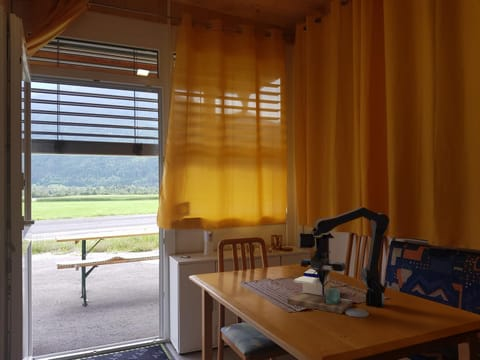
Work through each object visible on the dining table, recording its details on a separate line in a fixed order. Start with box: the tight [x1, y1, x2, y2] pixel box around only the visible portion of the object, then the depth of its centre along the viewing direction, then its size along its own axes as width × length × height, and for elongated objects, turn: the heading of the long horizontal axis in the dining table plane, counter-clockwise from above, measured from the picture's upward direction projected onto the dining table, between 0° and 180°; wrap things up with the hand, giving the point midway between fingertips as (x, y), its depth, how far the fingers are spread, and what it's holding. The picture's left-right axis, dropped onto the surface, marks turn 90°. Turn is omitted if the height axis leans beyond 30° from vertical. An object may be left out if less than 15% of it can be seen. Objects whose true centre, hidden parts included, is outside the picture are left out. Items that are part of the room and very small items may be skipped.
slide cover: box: [293, 275, 322, 295], centre depth 162 cm, size 10×10×8 cm
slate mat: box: [344, 308, 369, 318], centre depth 146 cm, size 9×9×1 cm
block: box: [325, 287, 341, 305], centre depth 155 cm, size 4×4×7 cm
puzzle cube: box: [302, 268, 330, 296], centre depth 177 cm, size 10×10×10 cm
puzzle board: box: [287, 291, 354, 315], centre depth 158 cm, size 24×14×2 cm, turn 54°
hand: (322, 284), depth 157 cm, fingers closed
